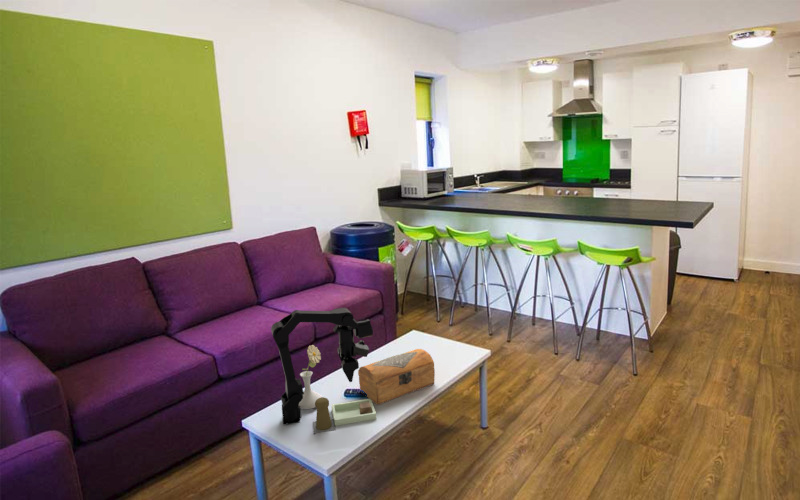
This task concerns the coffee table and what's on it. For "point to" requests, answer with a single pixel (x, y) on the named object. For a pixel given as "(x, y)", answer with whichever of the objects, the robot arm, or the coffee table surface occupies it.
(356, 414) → the tray
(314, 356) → the flower in vase
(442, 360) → the coffee table surface
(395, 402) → the coffee table surface
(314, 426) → the pad
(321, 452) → the coffee table surface
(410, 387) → the wooden box
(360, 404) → the walnut block
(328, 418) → the cork
